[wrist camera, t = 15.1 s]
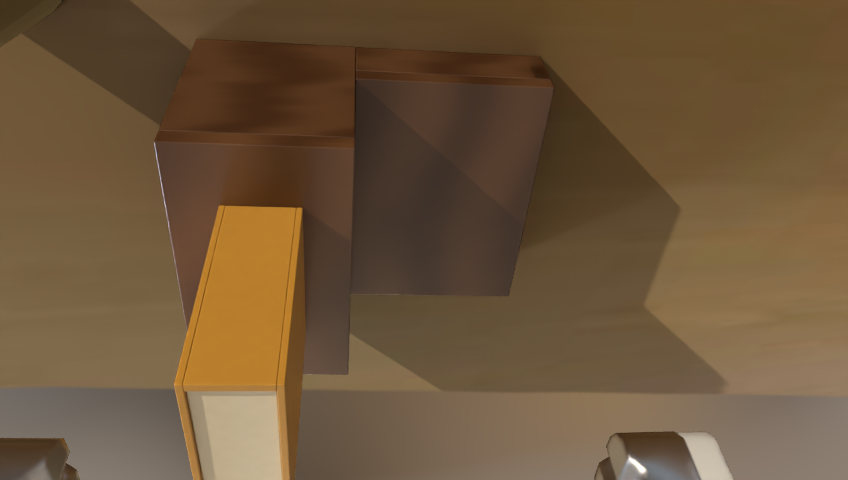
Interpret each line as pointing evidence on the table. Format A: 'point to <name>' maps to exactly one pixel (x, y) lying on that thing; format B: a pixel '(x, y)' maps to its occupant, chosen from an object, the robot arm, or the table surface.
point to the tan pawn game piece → (22, 16)
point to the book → (246, 348)
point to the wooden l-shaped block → (357, 168)
